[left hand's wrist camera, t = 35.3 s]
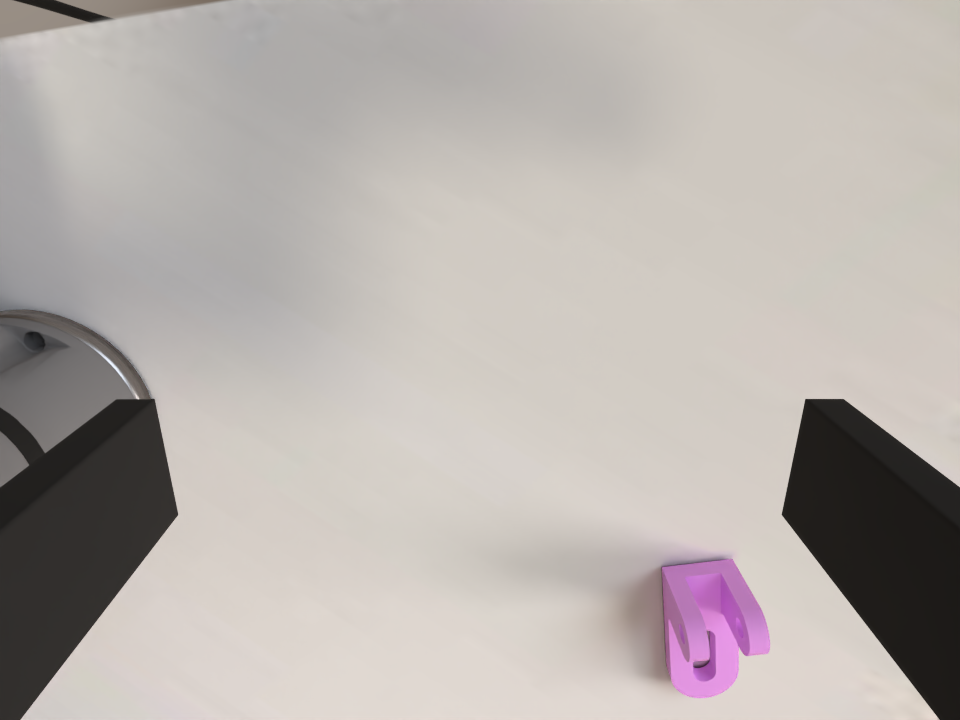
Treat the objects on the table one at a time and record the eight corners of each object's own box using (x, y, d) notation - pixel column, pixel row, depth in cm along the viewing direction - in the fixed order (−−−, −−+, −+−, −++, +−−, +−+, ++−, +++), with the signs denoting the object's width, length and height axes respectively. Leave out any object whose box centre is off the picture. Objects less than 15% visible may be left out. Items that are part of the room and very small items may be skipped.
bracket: (661, 567, 50) (689, 634, 43) (732, 559, 49) (770, 625, 43) (667, 687, 54) (693, 764, 48) (732, 680, 54) (766, 756, 47)
